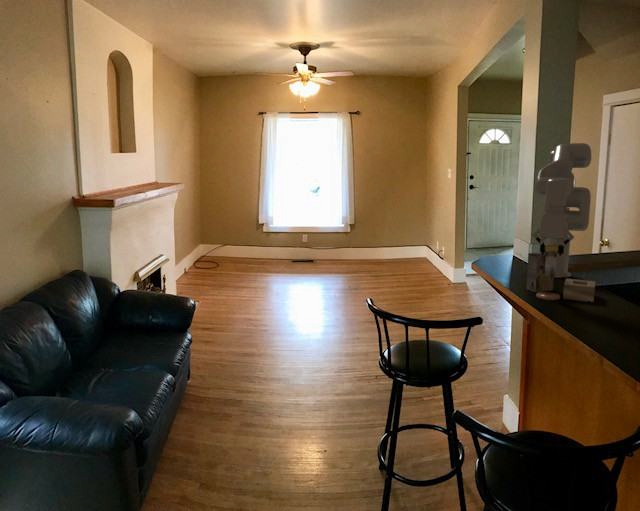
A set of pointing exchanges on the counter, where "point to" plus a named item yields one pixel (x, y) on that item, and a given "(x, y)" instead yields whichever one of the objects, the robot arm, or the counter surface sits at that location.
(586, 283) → the eye block
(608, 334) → the counter surface
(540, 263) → the coffee box
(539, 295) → the coaster
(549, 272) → the pin
